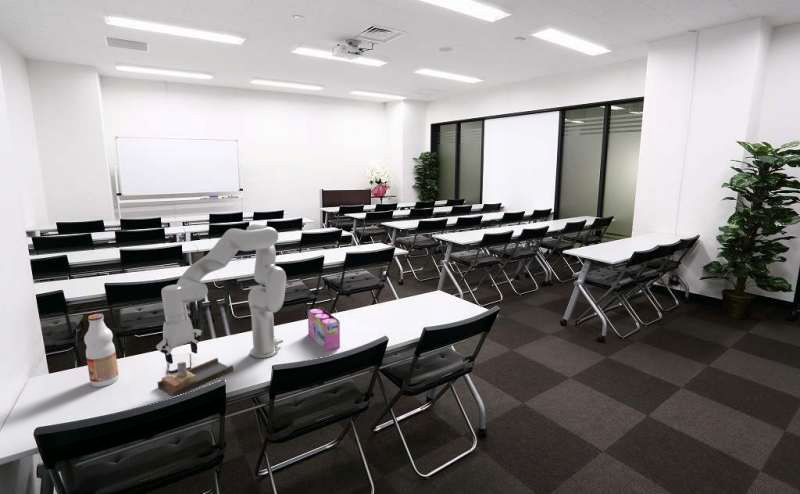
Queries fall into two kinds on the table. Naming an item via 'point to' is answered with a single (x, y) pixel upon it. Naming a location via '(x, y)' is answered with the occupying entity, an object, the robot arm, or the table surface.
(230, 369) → the slide track
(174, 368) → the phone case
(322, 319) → the pink multipack carton
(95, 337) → the fruit juice
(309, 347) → the table surface
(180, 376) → the oak slider
